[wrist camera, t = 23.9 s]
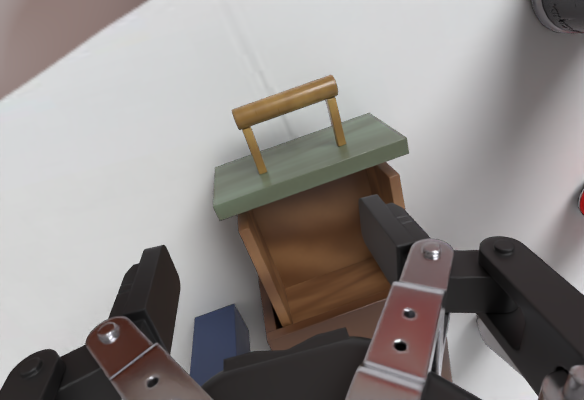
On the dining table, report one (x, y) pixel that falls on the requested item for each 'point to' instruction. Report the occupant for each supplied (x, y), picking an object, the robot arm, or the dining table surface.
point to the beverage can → (581, 202)
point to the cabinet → (332, 324)
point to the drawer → (310, 202)
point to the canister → (217, 342)
